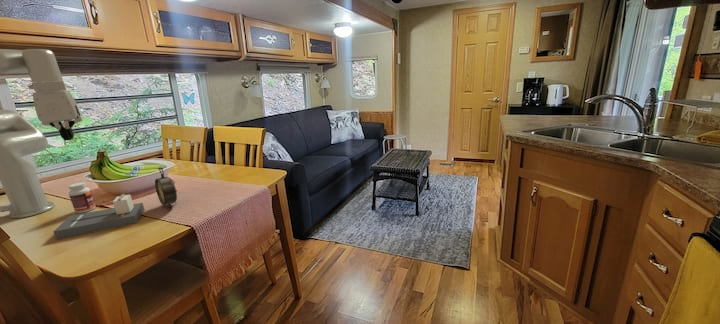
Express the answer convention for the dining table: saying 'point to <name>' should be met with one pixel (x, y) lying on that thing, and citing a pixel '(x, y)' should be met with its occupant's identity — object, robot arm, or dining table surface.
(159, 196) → the alarm clock
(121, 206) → the fader knob
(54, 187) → the dining table surface
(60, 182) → the dining table surface
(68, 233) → the fader console
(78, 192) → the pill bottle
